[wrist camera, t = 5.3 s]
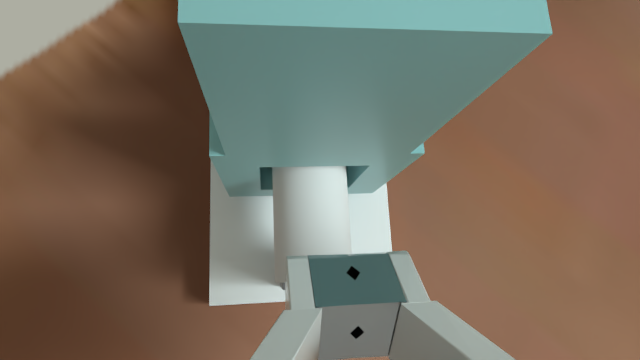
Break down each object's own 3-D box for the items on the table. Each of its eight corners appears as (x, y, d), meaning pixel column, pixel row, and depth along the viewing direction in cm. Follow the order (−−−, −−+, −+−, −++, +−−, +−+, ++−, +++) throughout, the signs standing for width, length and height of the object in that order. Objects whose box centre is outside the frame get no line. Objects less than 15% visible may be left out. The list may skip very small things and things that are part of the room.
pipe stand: (216, -98, 25) (196, -235, 19) (357, -88, 27) (388, -214, 20) (212, 304, 20) (184, 319, 13) (388, 293, 21) (446, 303, 14)
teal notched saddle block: (229, 117, 20) (152, -193, 7) (366, 117, 21) (540, -156, 8) (229, 196, 19) (142, 21, 6) (372, 193, 20) (580, 34, 7)
